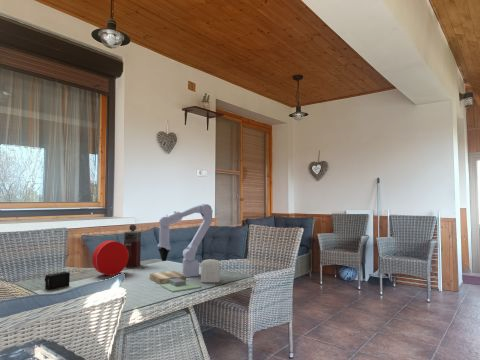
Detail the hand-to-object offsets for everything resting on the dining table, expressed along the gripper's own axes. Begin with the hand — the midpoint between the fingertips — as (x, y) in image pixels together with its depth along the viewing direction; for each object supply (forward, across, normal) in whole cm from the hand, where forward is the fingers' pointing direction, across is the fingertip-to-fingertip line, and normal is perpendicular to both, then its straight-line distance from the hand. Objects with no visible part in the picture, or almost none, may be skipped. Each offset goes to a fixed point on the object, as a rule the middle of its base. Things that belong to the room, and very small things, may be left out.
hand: (163, 260), depth 201 cm
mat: (+9, +25, -1) cm, 27 cm away
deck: (+9, +8, -1) cm, 12 cm away
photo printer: (+10, +25, +17) cm, 32 cm away
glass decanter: (+10, -42, -6) cm, 44 cm away
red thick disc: (+10, -24, -24) cm, 35 cm away
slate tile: (+9, +21, -1) cm, 23 cm away
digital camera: (+10, -8, -54) cm, 56 cm away
